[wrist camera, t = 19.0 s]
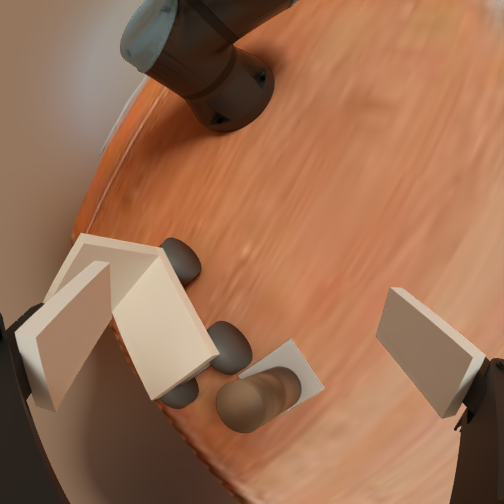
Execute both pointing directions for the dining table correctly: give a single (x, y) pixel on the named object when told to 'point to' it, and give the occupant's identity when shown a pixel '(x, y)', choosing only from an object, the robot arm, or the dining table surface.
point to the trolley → (159, 314)
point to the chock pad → (296, 362)
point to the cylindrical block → (258, 398)
